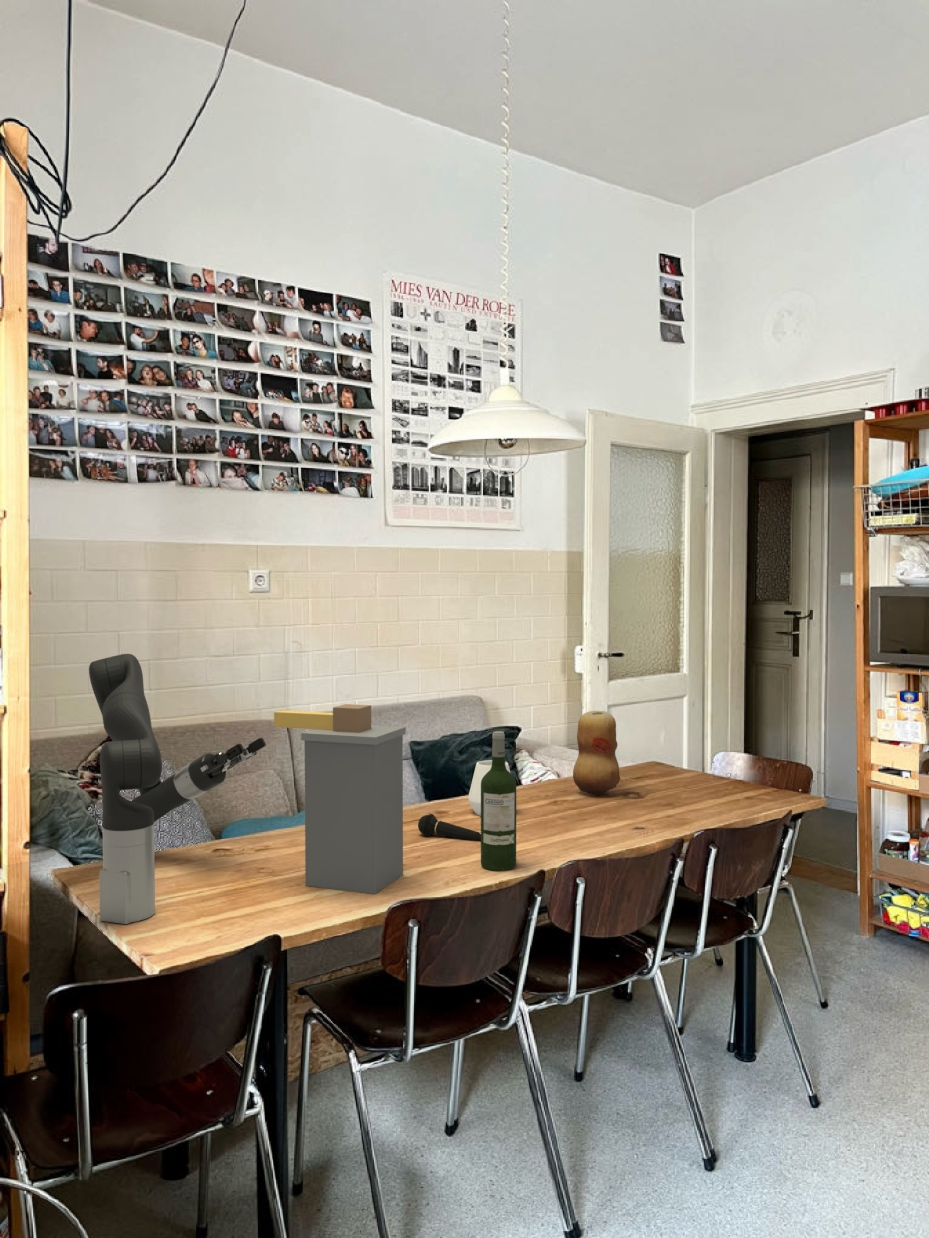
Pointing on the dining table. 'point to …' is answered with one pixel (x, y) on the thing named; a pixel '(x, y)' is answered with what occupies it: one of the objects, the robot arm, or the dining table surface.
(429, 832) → the microphone
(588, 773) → the butternut squash
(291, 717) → the peg
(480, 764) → the cup
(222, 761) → the robot arm
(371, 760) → the stand
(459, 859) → the dining table surface
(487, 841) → the wine bottle
